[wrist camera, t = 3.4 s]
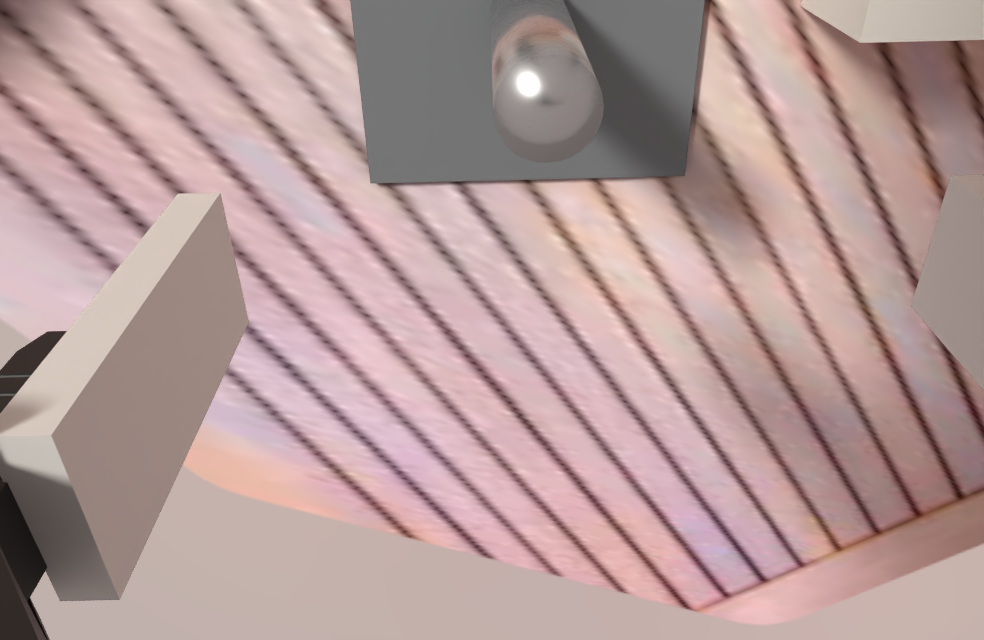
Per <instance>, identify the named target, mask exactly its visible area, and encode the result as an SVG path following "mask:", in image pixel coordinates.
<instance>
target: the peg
mask: <svg viewBox="0 0 984 640" xmlns="http://www.w3.org/2000/svg"><path fill="white" fill-rule="evenodd" d="M490 25H491V56H492V87H493V114H494V121H495V126H496V128H497V131H498V133H499V135H500V137H501V139H502V140H503V142H504V143H505V144H506V145H507V146H508V147H509V148H510V149H511V150H512V151H513V152H514V153H516V154H517V155H519V156H521V157H523V158H525V159H527V160H531V161H534V162H540V163H551V162H558V161H562V160H565V159H568V158H570V157H572V156H574V155H576V154H577V153H579V152H580V151H582V150H583V149H584V148H585V147H586V146H587V145H588V144H589V143H590V142H591V141H592V139H593V138H594V137H595V135H596V133H597V131H598V130H599V127H600V125H601V121H602V117H603V111H604V101H603V95H602V91H601V88H600V86H599V83H598V81H597V78H596V76H595V74H594V71H593V69H592V67H591V64H590V62H589V60H588V57H587V55H586V52H585V50H584V48H583V45H582V43H581V41H580V38H579V36H578V33H577V31H576V29H575V26H574V24H573V22H572V19H571V17H570V15H569V12H568V10H567V7H566V5H565V3H564V0H493V2H492V5H491V10H490Z"/></svg>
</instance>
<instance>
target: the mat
mask: <svg viewBox="0 0 984 640" xmlns="http://www.w3.org/2000/svg"><path fill="white" fill-rule="evenodd" d="M350 2H351V11H352V20H353V29H354V38H355V47H356V56H357V65H358V74H359V83H360V92H361V101H362V110H363V119H364V128H365V137H366V146H367V155H368V164H369V173H370V182H371V183H408V182H450V181H492V180H534V179H577V178H619V177H661V176H684V175H685V167H686V158H687V149H688V141H689V132H690V124H691V115H692V106H693V98H694V89H695V80H696V72H697V63H698V54H699V46H700V37H701V28H702V20H703V11H704V2H705V0H564V3H565V5H566V7H567V10H568V12H569V15H570V17H571V19H572V22H573V24H574V26H575V29H576V31H577V33H578V36H579V38H580V41H581V43H582V45H583V48H584V50H585V52H586V55H587V57H588V60H589V62H590V64H591V67H592V69H593V71H594V74H595V76H596V78H597V81H598V83H599V86H600V88H601V91H602V95H603V101H604V111H603V117H602V121H601V125H600V127H599V130H598V131H597V133H596V135H595V137H594V138H593V139H592V141H591V142H590V143H589V144H588V145H587V146H586V147H585V148H584V149H583V150H582V151H580V152H579V153H577V154H576V155H574V156H572V157H570V158H568V159H565V160H562V161H558V162H551V163H540V162H534V161H531V160H527V159H525V158H523V157H521V156H519V155H517V154H516V153H514V152H513V151H512V150H511V149H510V148H509V147H508V146H507V145H506V144H505V143H504V142H503V140H502V139H501V137H500V135H499V133H498V131H497V128H496V126H495V121H494V114H493V87H492V56H491V25H490V10H491V5H492V2H493V0H350Z"/></svg>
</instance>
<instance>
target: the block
mask: <svg viewBox="0 0 984 640" xmlns="http://www.w3.org/2000/svg"><path fill="white" fill-rule="evenodd" d="M801 7H803V8H804V9H806V10H808V11H809V12H811V13H812V14H814V15H816V16H817V17H819V18H821V19H822V20H824V21H825V22H827V23H829V24H830V25H832V26H833V27H835V28H837V29H838V30H840V31H842V32H843V33H845V34H846V35H848V36H850V37H851V38H853V39H855V40H856V41H858V42H859V43H875V42H916V41H957V40H984V0H802V2H801Z"/></svg>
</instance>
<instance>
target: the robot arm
mask: <svg viewBox="0 0 984 640" xmlns="http://www.w3.org/2000/svg"><path fill="white" fill-rule="evenodd" d="M911 307H912V308H913V309H914V311H915V312H916V313H917V314H918V315H919V316H920V318H921V319H922V320H923V321H924V322H925V323H926V324H927V326H928V327H929V328H930V329H931V330H932V331H933V333H934V334H935V335H936V336H937V337H938V338H939V339H940V341H941V342H942V343H943V344H944V345H945V346H946V348H947V349H948V350H949V351H950V352H951V353H952V354H953V356H954V357H955V358H956V359H957V360H958V361H959V363H960V364H961V365H962V366H963V367H964V368H965V369H966V371H967V372H968V373H969V374H970V375H971V376H972V378H973V379H974V380H975V381H976V382H977V383H978V384H979V386H980V387H981V388H982V389H983V390H984V175H951V176H950V180H949V183H948V186H947V190H946V193H945V196H944V199H943V203H942V206H941V209H940V213H939V216H938V219H937V222H936V226H935V229H934V232H933V236H932V239H931V242H930V245H929V249H928V252H927V255H926V259H925V262H924V265H923V268H922V272H921V275H920V278H919V282H918V285H917V288H916V291H915V295H914V298H913V301H912V305H911ZM248 322H249V320H248V316H247V311H246V307H245V302H244V298H243V293H242V289H241V284H240V279H239V275H238V270H237V266H236V261H235V257H234V252H233V248H232V243H231V239H230V234H229V230H228V225H227V221H226V216H225V212H224V207H223V202H222V198H221V193H192V194H177V196H176V197H175V198H174V199H173V201H172V202H171V203H170V204H169V206H168V207H167V208H166V209H165V211H164V212H163V213H162V214H161V215H160V217H159V218H158V219H157V220H156V222H155V223H154V224H153V225H152V227H151V228H150V229H149V230H148V232H147V233H146V234H145V235H144V236H143V238H142V239H141V240H140V241H139V243H138V244H137V245H136V246H135V248H134V249H133V250H132V251H131V253H130V254H129V255H128V256H127V258H126V259H125V260H124V261H123V262H122V264H121V265H120V266H119V267H118V269H117V270H116V271H115V272H114V274H113V275H112V276H111V277H110V279H109V280H108V281H107V282H106V283H105V285H104V286H103V287H102V288H101V290H100V291H99V292H98V293H97V295H96V296H95V297H94V298H93V300H92V301H91V302H90V303H89V305H88V306H87V307H86V308H85V309H84V311H83V312H82V313H81V314H80V316H79V317H78V318H77V319H76V321H75V322H74V323H73V324H72V326H71V327H70V328H69V329H68V330H67V331H52V332H46V333H45V334H43V335H42V336H40V337H38V338H37V339H35V340H34V341H32V342H31V343H29V344H28V345H26V346H25V347H23V348H22V349H20V350H18V351H17V352H16V353H15V354H14V355H13V357H12V358H11V359H10V360H9V361H8V362H7V363H6V364H5V366H4V367H3V368H2V369H1V370H0V640H50V639H49V637H48V635H47V633H46V630H45V628H44V626H43V624H42V622H41V619H40V617H39V615H38V613H37V611H36V609H35V607H34V605H33V603H32V601H31V599H30V596H31V594H32V592H33V591H34V589H35V588H36V586H37V584H38V582H39V581H40V579H41V577H42V575H43V574H44V572H45V570H46V572H47V575H48V576H49V579H50V581H51V583H52V585H53V587H54V589H55V591H56V593H57V595H58V597H59V600H60V601H85V600H119V599H120V598H121V596H122V593H123V591H124V589H125V587H126V585H127V582H128V581H129V578H130V576H131V574H132V572H133V570H134V568H135V565H136V563H137V561H138V559H139V557H140V555H141V553H142V550H143V548H144V546H145V544H146V542H147V540H148V538H149V535H150V533H151V531H152V528H153V527H154V525H155V522H156V520H157V518H158V516H159V514H160V512H161V510H162V507H163V505H164V503H165V501H166V499H167V497H168V495H169V492H170V490H171V488H172V486H173V484H174V482H175V480H176V477H177V475H178V473H179V471H180V468H181V467H182V464H183V462H184V460H185V458H186V456H187V454H188V452H189V449H190V447H191V445H192V443H193V441H194V439H195V436H196V434H197V432H198V430H199V428H200V426H201V424H202V421H203V419H204V417H205V415H206V413H207V411H208V409H209V406H210V404H211V402H212V400H213V398H214V396H215V393H216V391H217V389H218V387H219V385H220V383H221V381H222V378H223V376H224V374H225V372H226V370H227V368H228V366H229V363H230V361H231V359H232V357H233V355H234V353H235V350H236V348H237V346H238V344H239V342H240V340H241V338H242V335H243V333H244V331H245V329H246V327H247V325H248Z"/></svg>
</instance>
